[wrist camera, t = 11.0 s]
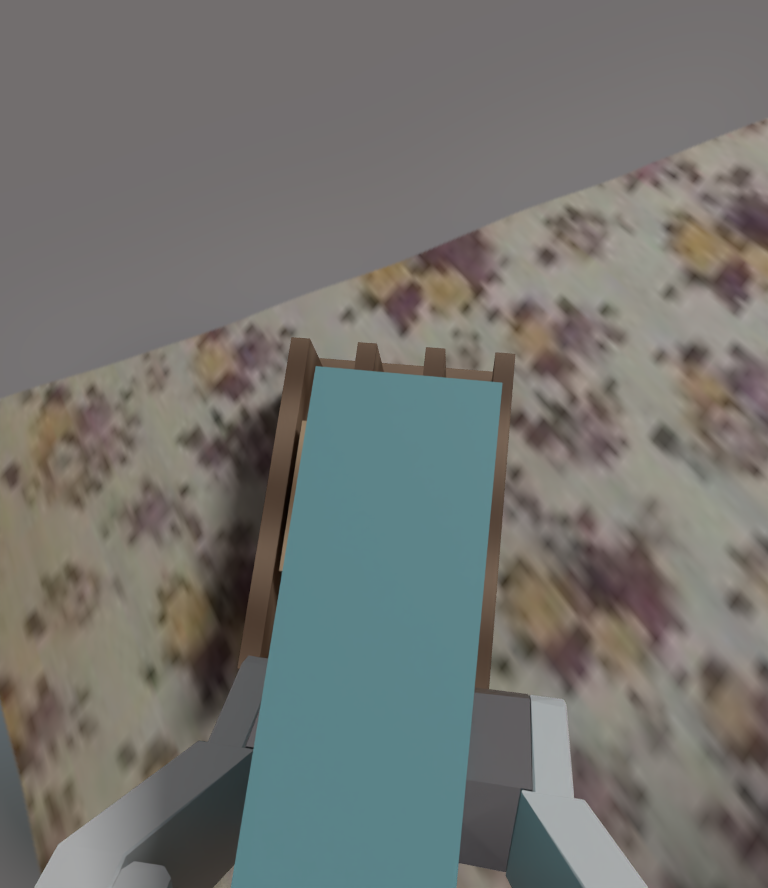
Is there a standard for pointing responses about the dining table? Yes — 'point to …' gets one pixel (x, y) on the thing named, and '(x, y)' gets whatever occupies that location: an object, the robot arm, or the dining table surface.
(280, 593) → the tall teal board
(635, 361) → the dining table surface
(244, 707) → the robot arm
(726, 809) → the dining table surface
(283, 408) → the walnut board rack
